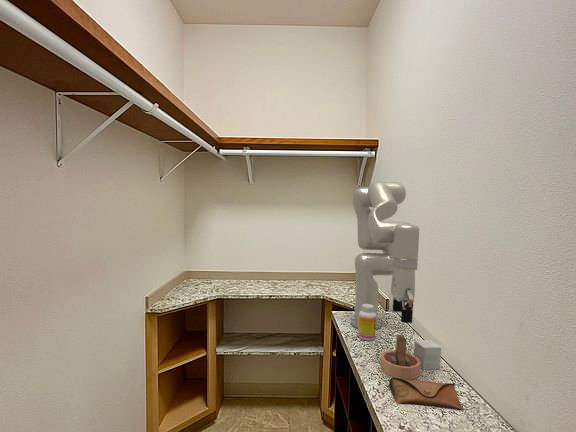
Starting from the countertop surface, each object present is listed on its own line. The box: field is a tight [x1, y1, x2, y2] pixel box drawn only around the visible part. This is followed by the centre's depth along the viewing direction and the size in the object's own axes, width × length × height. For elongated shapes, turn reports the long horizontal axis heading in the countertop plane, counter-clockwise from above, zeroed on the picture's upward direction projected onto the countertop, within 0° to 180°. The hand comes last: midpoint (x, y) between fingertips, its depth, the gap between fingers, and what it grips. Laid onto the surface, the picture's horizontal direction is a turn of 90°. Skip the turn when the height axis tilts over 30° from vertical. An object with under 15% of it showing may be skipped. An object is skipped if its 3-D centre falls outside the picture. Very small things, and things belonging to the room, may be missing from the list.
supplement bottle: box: [357, 304, 377, 341], centre depth 131 cm, size 7×7×13 cm
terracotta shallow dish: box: [380, 350, 422, 380], centre depth 106 cm, size 12×12×4 cm
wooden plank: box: [395, 334, 407, 366], centre depth 105 cm, size 4×2×10 cm, turn 176°
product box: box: [413, 339, 442, 371], centre depth 109 cm, size 6×6×7 cm
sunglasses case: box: [388, 377, 465, 411], centre depth 91 cm, size 18×7×7 cm
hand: (401, 316), depth 105 cm, fingers open, 9 cm apart
